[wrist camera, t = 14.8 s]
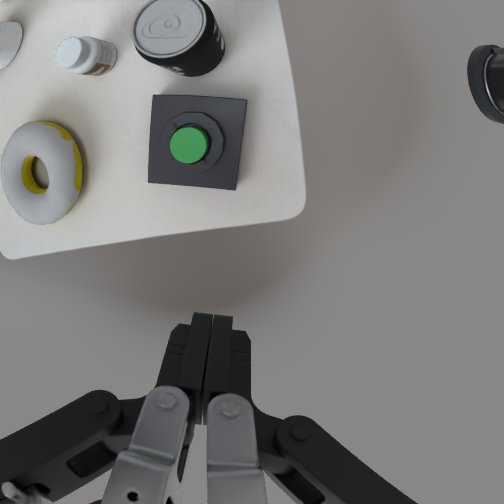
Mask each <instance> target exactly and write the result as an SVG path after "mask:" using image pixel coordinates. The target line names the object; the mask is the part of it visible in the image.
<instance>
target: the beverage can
mask: <svg viewBox="0 0 504 504" xmlns="http://www.w3.org/2000/svg"><path fill="white" fill-rule="evenodd" d="M131 36H132V40H133V42H134V45H135V48H136V50H137V51H138V53H139V54H140V55H141V56H142V57H143V58H144V59H146V60H147V61H149V62H151V63H154V64H156V65H159V66H161V67H163V68H166V69H168V70H171V71H173V72H175V73H178V74H180V75H183V76H189V77H194V76H200V75H203V74H206V73H208V72H210V71H211V70H213V69H214V68H215V67H216V66H217V65H218V64H219V63H220V61H221V59H222V57H223V55H224V51H225V43H224V39H223V37H222V34H221V32H220V30H219V27H218V25H217V22H216V20H215V18H214V15H213V13H212V11H211V9H210V8H209V6H208V5H207V4H206V3H205V2H203V1H202V0H150V1H148V2H147V3H146V4H145V5H143V6H142V7H141V9H140V10H139V11H138V12H137V14H136V16H135V18H134V20H133V23H132V27H131Z"/></svg>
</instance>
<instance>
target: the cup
mask: <svg viewBox="0 0 504 504" xmlns="http://www.w3.org/2000/svg"><path fill="white" fill-rule="evenodd" d="M21 40H22V27H21V25H20V24H19V23H18V22H1V23H0V69H2V68H4V67H6V66H7V65H8V64H9V63H10V62H11V61H12V60H13V58H14V57H15V55H16V53H17V52H18V49H19V47H20V44H21Z"/></svg>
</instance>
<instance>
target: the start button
mask: <svg viewBox="0 0 504 504" xmlns="http://www.w3.org/2000/svg"><path fill="white" fill-rule="evenodd" d="M208 146H209V140H208V137H207V135H206V133H205V132H204V131H203V130H202V129H201V128H199V127H196V126H188V127H184V128H181V129H179V130H178V131H176V132H175V133H174V135H173V136H172V138H171V141H170V150H171V153H172V155H173V156H174V157H175V158H176V159H177V160H178V161H180V162H182V163H194V162H196V161H198V160H199V159H200V158H202V156H203V155H204V154H205V153H206V152H207V149H208Z"/></svg>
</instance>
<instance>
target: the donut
mask: <svg viewBox="0 0 504 504" xmlns="http://www.w3.org/2000/svg"><path fill="white" fill-rule="evenodd" d="M35 156H37V157H38V158H40V159H41V160H42V162H43V163H44V165H45V166H46V169H47V173H48V177H49V185H48V188H47V189H42V188H40V187H39V186H38V185H37V184H36V183H35V181H34V179H33V176H32V171H31V166H32V161H33V159H34V157H35ZM1 180H2V185H3V189H4V192H5V195H6V198H7V200H8V202H9V204H10V205H11V207H12V208H13V209H14V211H15V212H16V213H17V214H18V215H19V216H20V217H21V218H22V219H23V220H25V221H27V222H29V223H32V224H39V225H44V224H51V223H54V222H57V221H58V220H60V219H61V218H63V217H64V216H65V215H66V214H67V213H68V212H69V211H70V210H71V209H72V207H73V206H74V205H75V203H76V201H77V199H78V197H79V193H80V190H81V184H82V161H81V154H80V152H79V149H78V146H77V144H76V142H75V141H74V139H73V137H72V136H71V135H70V134H69V133H68V132H67V131H66V130H65V129H64V128H62V127H61V126H59V125H57V124H55V123H52V122H48V121H36V122H28V123H26V124H24V125H22V126H21V127H19V128H18V129H17V130H16V131H15V132H14V133H13V134H12V136H11V137H10V139H9V141H8V142H7V145H6V147H5V149H4V152H3V155H2V159H1Z"/></svg>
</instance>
